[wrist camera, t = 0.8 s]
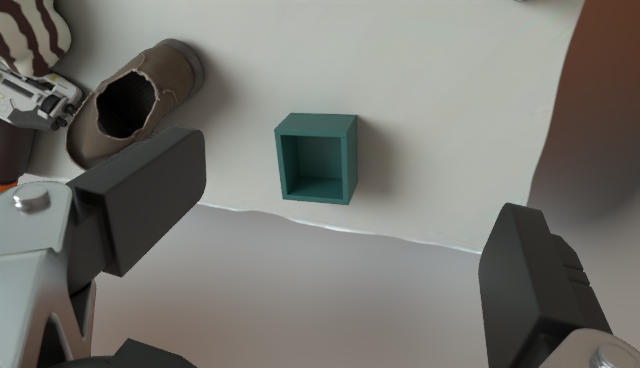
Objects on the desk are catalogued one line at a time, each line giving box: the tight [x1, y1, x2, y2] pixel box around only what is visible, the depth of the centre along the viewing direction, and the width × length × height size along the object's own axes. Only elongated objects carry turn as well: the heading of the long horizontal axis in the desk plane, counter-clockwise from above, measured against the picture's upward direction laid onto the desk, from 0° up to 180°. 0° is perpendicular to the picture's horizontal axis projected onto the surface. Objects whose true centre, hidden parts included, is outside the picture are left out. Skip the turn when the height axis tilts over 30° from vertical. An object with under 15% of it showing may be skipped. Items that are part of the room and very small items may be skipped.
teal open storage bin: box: [274, 113, 357, 205], centre depth 55 cm, size 11×10×7 cm
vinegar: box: [0, 118, 35, 193], centre depth 70 cm, size 7×7×20 cm
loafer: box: [65, 39, 204, 171], centre depth 58 cm, size 11×30×11 cm, turn 131°
